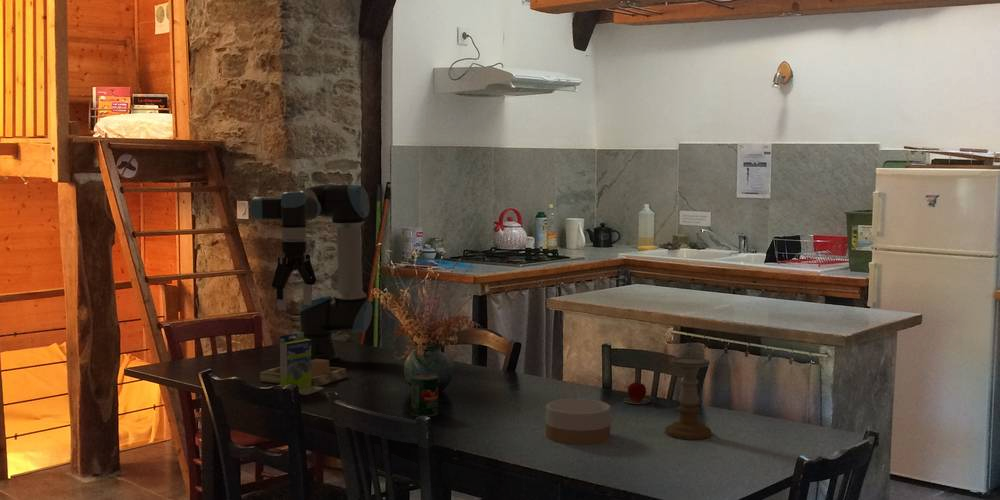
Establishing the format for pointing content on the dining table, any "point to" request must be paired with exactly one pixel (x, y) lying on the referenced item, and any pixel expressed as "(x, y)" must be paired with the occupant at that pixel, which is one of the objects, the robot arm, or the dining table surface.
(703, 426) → the candle holder
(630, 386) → the apple
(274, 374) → the crate frame
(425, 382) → the canned tomato
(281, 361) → the box
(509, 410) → the dining table surface
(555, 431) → the brown round container
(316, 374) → the terracotta block
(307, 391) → the sage mat
